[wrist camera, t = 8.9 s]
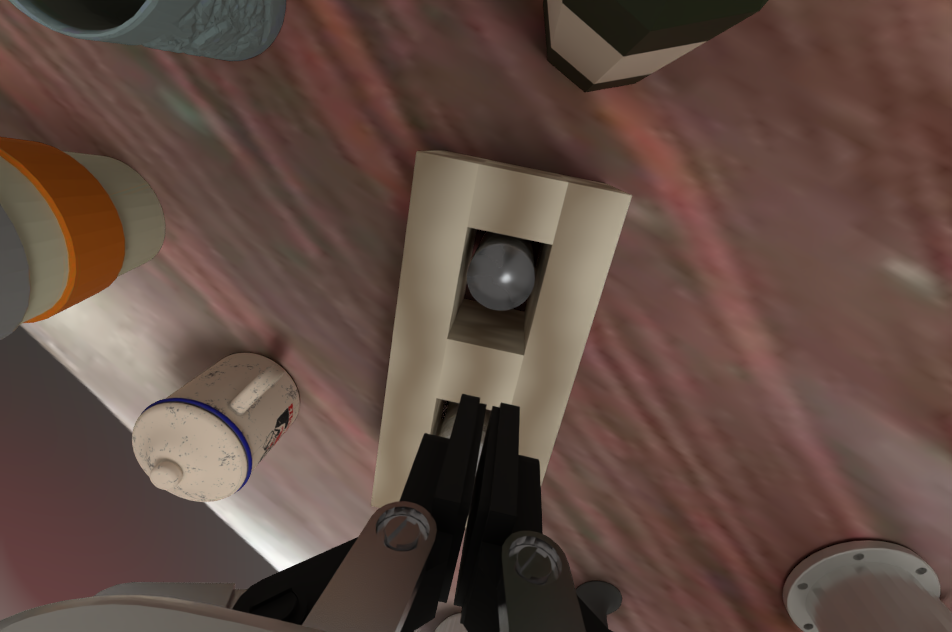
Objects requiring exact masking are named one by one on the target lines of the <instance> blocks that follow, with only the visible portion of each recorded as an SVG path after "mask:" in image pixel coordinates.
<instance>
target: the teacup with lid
mask: <svg viewBox="0 0 952 632" xmlns="http://www.w3.org/2000/svg"><path fill="white" fill-rule="evenodd" d="M299 406H300V399H299V393H298V390H297V387H296V385H295V383H294V381H293V380H292V378H291V377H290V375H289V374H288V373H287V372H286V371H285V370H284V369H283V368H282V367H281V366H280V365H278V364H277V363H275V362H274V361H272V360H270V359H268V358H266V357H264V356H261V355H258V354H253V353H236V354H232V355H229V356H227V357H225V358H223V359H222V360H220V361H219V362H217V363H216V364H214V365H213V366H212V367H210V368H209V369H207V370H206V371H204V372H203V373H202V374H200V375H199V376H197V377H196V378H194V379H193V380H192V381H190V382H189V383H187V384H186V385H184V386H183V387H181V388H180V389H179V390H177V391H176V392H174V393H173V394H171V395H170V396H169V397H167V398H166V399H163V400H159V401H157V402H155V403H153V404H151V405H150V406H148V407H147V408H146V409H145V410H144V411H143V412H142V414H141V415H140V417H139V418H138V419H137V421H136V423H135V426H134V429H133V433H132V444H133V449H134V453H135V456H136V458H137V460H138V462H139V464H140V466H141V467H142V469H143V470H144V471H145V472H146V474H147V475H148V476H149V477H150V480H151V482H152V483H153V484H154V485H155V486H156V487H158V488H160V489H163V490H167V491H168V492H170V493H172V494H174V495H177V496H179V497H181V498H185V499H188V500H192V501H198V502H211V501H217V500H221V499H224V498H226V497H229V496H230V495H232V494H234V493H236V492H237V491H239V490H240V489H241V488H242V487H243V486H244V485H245V484H246V482H247V481H248V479H249V477H250V474H251V472H252V471H253V469H254V468H255V467H256V466H257V465H258V464H259V462H260V461H261V460H262V459H263V458H264V456H265V455H266V454H267V453H268V452H269V451H270V449H271V448H272V447H273V446H274V445H275V443H276V442H277V441H278V440H279V439H280V438H281V436H282V435H283V434H284V433H285V432H286V430H287V429H288V428H289V427H290V426H291V425H292V423H293V422H294V421H295V419H296V417H297V415H298V412H299Z"/></svg>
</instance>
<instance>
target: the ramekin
mask: <svg viewBox="0 0 952 632" xmlns="http://www.w3.org/2000/svg"><path fill="white" fill-rule="evenodd" d="M460 618H461V613H458V614H455V615H452V616H450V617H448V618H447V619H445V620H444V621H443V622H442V623H440V625H439V626H438V627H437V628H436V630H435V632H468V631H467V630H466V628H465V627H464V625H463V624H461V623H460Z"/></svg>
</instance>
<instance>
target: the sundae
mask: <svg viewBox="0 0 952 632" xmlns="http://www.w3.org/2000/svg"><path fill="white" fill-rule="evenodd" d="M576 594H577V595H578V597H579V598H580V599H581V600H582V601H583V602H584V603H585V604H586V605H587V606H588V607H589V608H590V610H591V611H592V612H593V613H594V614H595V615H596V616H597V617H598V618H599V619H600V620H601V621H602V623H603V624H604V625H605V626H606V627H607V628H608V624H607V615H608V614H610V613H612V612H614V611H616V610H617V609H618V608H619V607H620V605H621V602H622V596H621V594H620V592H619V590H618V589H617V588H615V587H614V586H613V585H611V584H609V583H606V582H601V581H591V582H587V583H584V584H582V585H581V586H579V587H578V588H577V589H576ZM610 631H611V630H610ZM611 632H613V631H611Z"/></svg>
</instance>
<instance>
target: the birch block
mask: <svg viewBox="0 0 952 632" xmlns="http://www.w3.org/2000/svg"><path fill="white" fill-rule="evenodd" d="M631 197H632V195H630V194H628V193H626V192H623V191H621V190H619V189H617V188H615V187H613V186H610V185H608V184H605V183H600V182H595V181H590V180H585V179H580V178H576V177H571V176H566V175H561V174H556V173H551V172H546V171H541V170H537V169H532V168H527V167H522V166H517V165H512V164H507V163H502V162H498V161H493V160H488V159H483V158H478V157H473V156H468V155H463V154H458V153H454V152H449V151H444V150H435V151H417V152H416V160H415V168H414V175H413V183H412V191H411V199H410V206H409V214H408V222H407V230H406V237H405V245H404V253H403V261H402V268H401V276H400V284H399V292H398V299H397V307H396V315H395V323H394V330H393V338H392V346H391V354H390V361H389V369H388V377H387V385H386V393H385V400H384V408H383V416H382V424H381V431H380V439H379V447H378V455H377V462H376V470H375V478H374V486H373V493H372V501H371V506H374V507H379V508H381V507H382V506H384V505H386V504H389V503H392V502H396V501H400V498H401V495H402V493H403V490H404V487H405V484H406V482H407V479H408V476H409V473H410V471H411V468H412V465H413V462H414V460H415V457H416V454H417V451H418V449H419V446H420V443H421V440H422V438H423V435H424V433H427V434H432V435H436V436H439V434H440V431H441V428H442V424H443V421H444V419H441V416H442V411H443V406H444V400H447V401H452V402H456V403H460V399H461V395H462V394H467V395H471V396H475V397H480V403H483V404H487V406H486V409H488V410H492V406H496V407H500V404H501V402H502V403H506V404H510V405H515V406H519V407H520V425H519V455H522V456H527V457H531V458H535V459H539V462H540V482H541V485H542V482H543V478H544V475H545V472H546V469H547V466H548V462H549V459H550V456H551V453H552V450H553V446H554V443H555V440H556V437H557V434H558V430H559V427H560V424H561V421H562V418H563V415H564V411H565V408H566V405H567V402H568V399H569V395H570V392H571V389H572V386H573V383H574V379H575V376H576V373H577V370H578V367H579V363H580V360H581V357H582V354H583V351H584V347H585V344H586V341H587V338H588V335H589V332H590V328H591V325H592V322H593V319H594V316H595V312H596V309H597V306H598V303H599V300H600V296H601V293H602V290H603V287H604V284H605V280H606V277H607V274H608V271H609V268H610V264H611V261H612V258H613V255H614V252H615V249H616V245H617V242H618V239H619V236H620V233H621V229H622V226H623V223H624V220H625V217H626V213H627V210H628V207H629V204H630V201H631ZM477 229H480V230H484V231H489V232H494V233H499V234H503V235H508V236H513V237H518V238H522V239H527V240H532V241H537V242H541V247H540V251H539V255H538V259H537V263H536V267H535V271H534V273H535V282H534V287H533V290H532V292H531V294H530V296H529V297H528V300H527V304H526V308H525V312H523V311H519V310H514V309H510V310H503V311H499V310H493V309H489V308H487V307H485V306H483V305H481V304H480V303H479V302H477V301H472V300H467V299H464V295H465V289H466V284H467V271H468V267H469V265H470V262H471V258H472V252H473V247H474V242H475V237H476V231H477ZM467 519H468V518H467ZM466 526H467V522H466ZM466 526H465V528H466Z"/></svg>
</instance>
